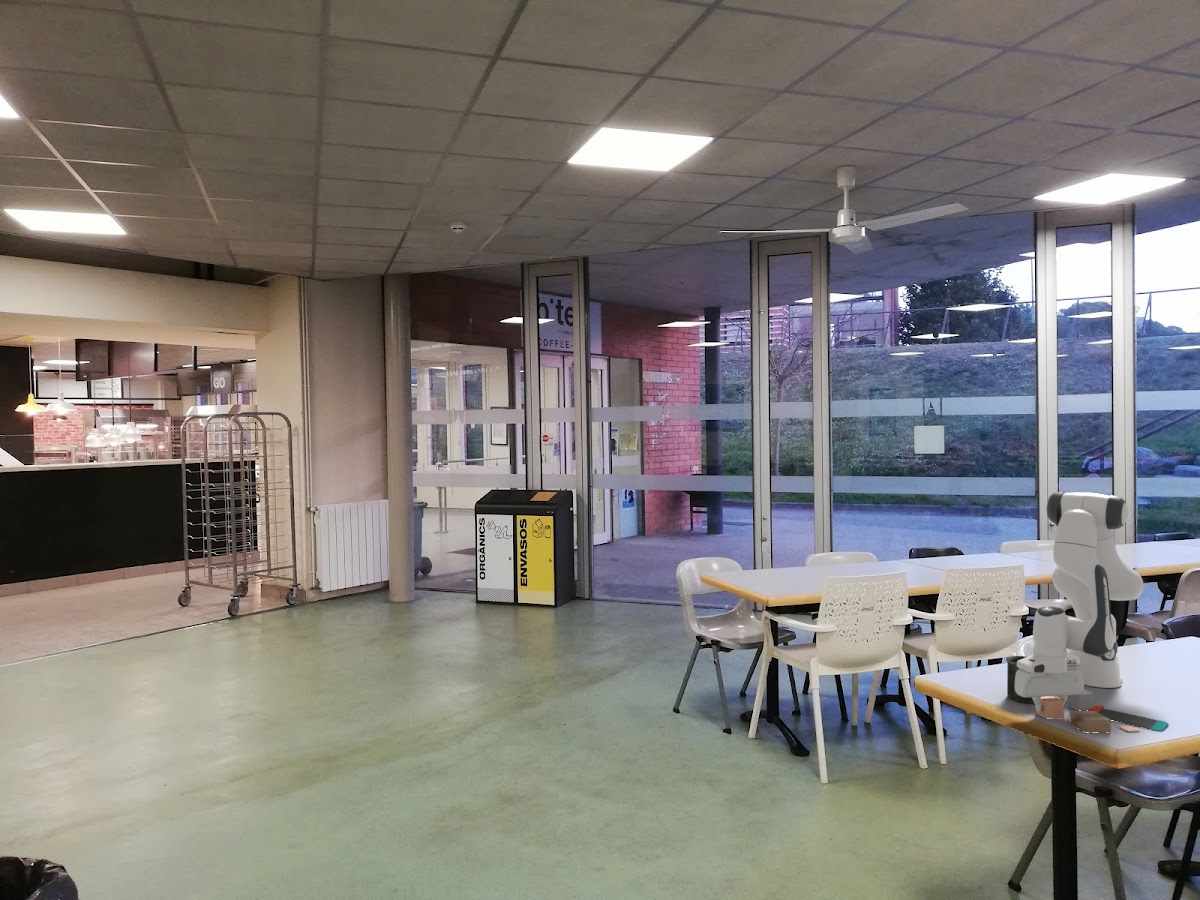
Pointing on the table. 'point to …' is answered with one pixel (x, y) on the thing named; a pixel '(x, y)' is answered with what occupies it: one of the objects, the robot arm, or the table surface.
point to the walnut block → (1090, 721)
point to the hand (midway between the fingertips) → (1049, 710)
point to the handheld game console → (1131, 719)
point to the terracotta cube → (1051, 707)
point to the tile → (1129, 728)
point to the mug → (1011, 675)
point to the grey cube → (1082, 701)
